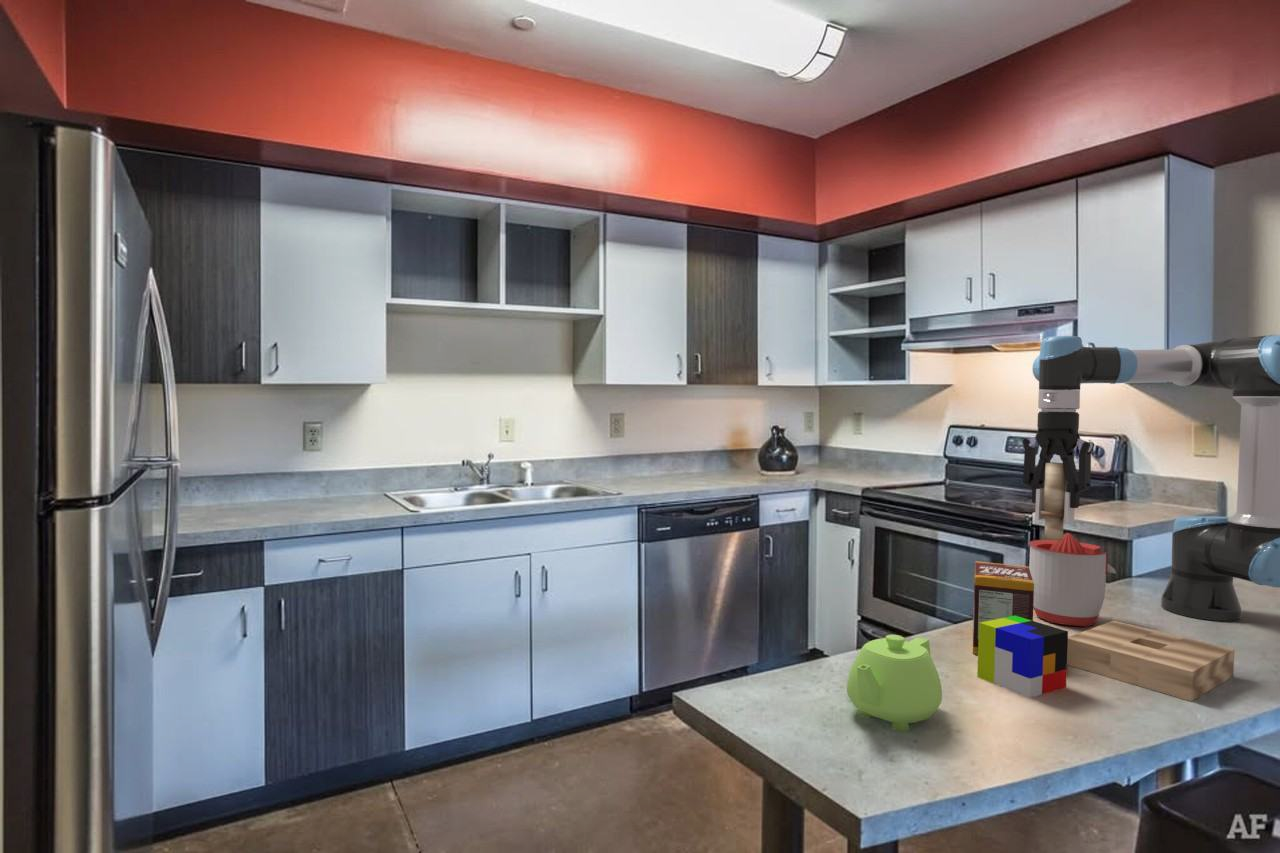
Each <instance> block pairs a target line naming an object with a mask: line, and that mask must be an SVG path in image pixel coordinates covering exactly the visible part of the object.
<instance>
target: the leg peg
mask: <svg viewBox="0 0 1280 853" xmlns="http://www.w3.org/2000/svg"><path fill="white" fill-rule="evenodd" d="M1067 486H1068V483H1067V479H1066V475H1065V470H1064V466H1063V462H1051V461H1050V462H1046V463H1045V480H1044V488H1045V489H1044V510H1040V514H1041V515H1044V516H1045V519H1044V536H1043V538H1044V540H1063V535H1064V525H1065V524H1064V507H1065V492H1067V488H1068V487H1067Z"/></svg>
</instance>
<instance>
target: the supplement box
mask: <svg viewBox="0 0 1280 853" xmlns="http://www.w3.org/2000/svg"><path fill="white" fill-rule="evenodd" d="M974 562H975V563H974V564H975V565H974V582H973V583H974V584H973V610H972V611H973V613H972V614H973V615H972V654H973V655H977V656H978V642H979V623H980V622H985V621H990V620H995V619H1000V618H1005V617H1010V616H1018V617H1022V618H1025V619H1028V620H1032V621H1034V608H1033V604H1034V582H1033V579H1032V576H1031V573H1030V570H1029V566H1026V565H1014V564H1007V563H1006V564H1005V563H994V562H988V561H987V562H986V561H978V560H975V561H974Z"/></svg>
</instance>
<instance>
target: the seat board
mask: <svg viewBox="0 0 1280 853" xmlns="http://www.w3.org/2000/svg"><path fill="white" fill-rule="evenodd" d="M1235 651H1236V649H1234V648H1230V647H1226V646H1223V645H1218V644H1213V643H1209V642H1205V641H1200V640H1197V639H1192V638H1189V637H1185V636H1184V637H1183V636H1180V635H1176V634H1171V633H1168V632H1163V631H1160V630H1159V631H1158V630H1155V629H1152V628H1146V627H1141V626H1138V625H1133V624H1130V623H1125V622H1120V621H1116V620H1112V621H1109V622H1106V623H1103V624H1100V625H1097V626H1095V627H1092V628H1089V629H1086V630H1084V631H1082V632H1079V633H1076V634H1072V635H1071V636H1068V647H1067V666H1071V667H1074V668H1077V669H1080V670H1084V671H1088V672H1092V673H1094V674H1097V675H1100V676H1104V677H1107V678H1110V679H1111V678H1112V679H1115V680H1118V681H1120V682H1121V681H1122V682H1125V683H1126V684H1127V683H1128V684H1130V685H1134V686H1138V687H1141V688H1145V689H1148V690H1152V691H1154V692H1158V693H1161V692H1162V693H1161V694H1164V693H1165V695H1168V696H1171V695H1172V697H1175V698H1179V699H1182V700H1185V701H1189V702H1192V701H1194V700H1196V699H1197V698H1199V697H1201V696H1203V695H1205V694H1206V693H1207V692H1209V691H1210V690H1212V689H1214V688H1216V687H1218V686H1220V685H1221V684H1223V683H1224V682H1226V681H1228V680H1230V679H1231V678H1234V674H1235V673H1234V671H1235V653H1236V652H1235Z"/></svg>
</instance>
